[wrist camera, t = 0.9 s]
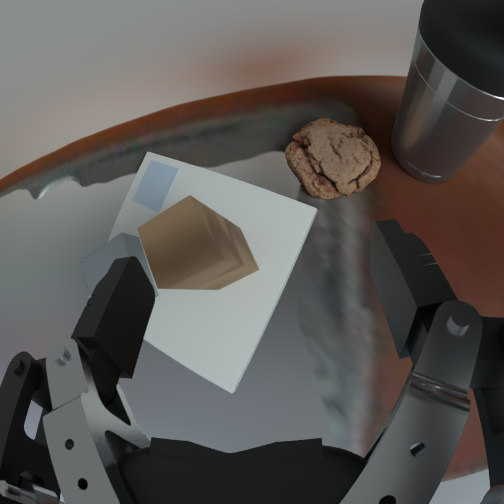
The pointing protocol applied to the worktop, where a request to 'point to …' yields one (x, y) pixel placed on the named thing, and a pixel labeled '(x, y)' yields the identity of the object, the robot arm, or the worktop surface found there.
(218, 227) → the walnut pillar
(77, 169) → the worktop surface
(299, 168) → the cookie
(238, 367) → the base board
